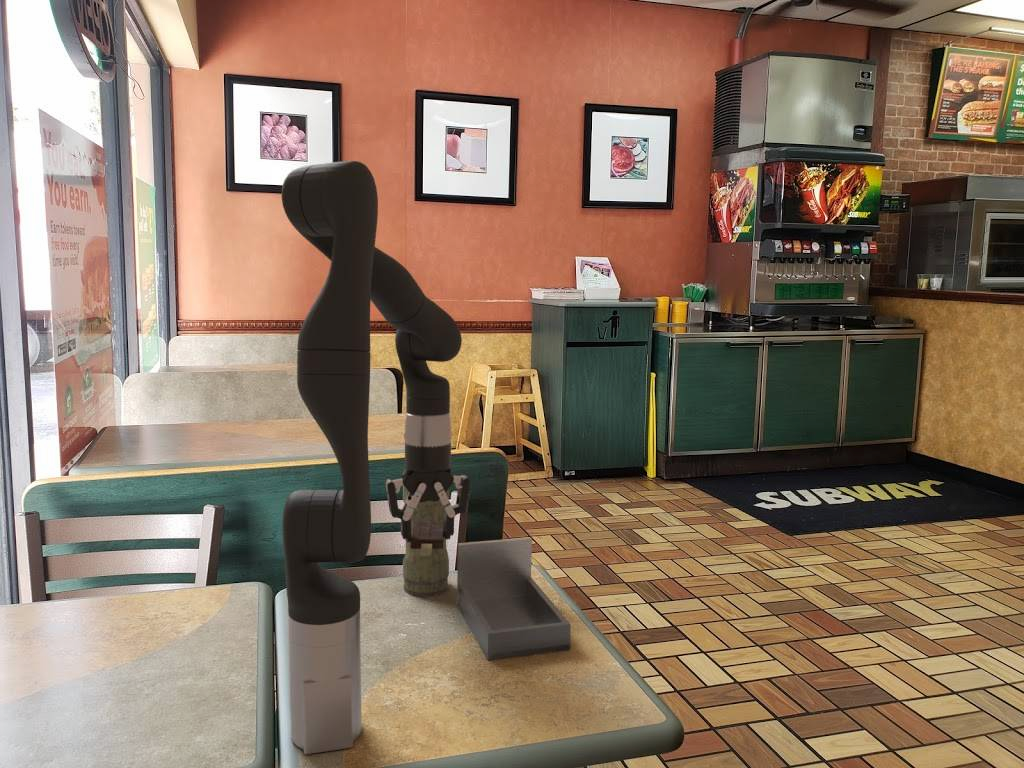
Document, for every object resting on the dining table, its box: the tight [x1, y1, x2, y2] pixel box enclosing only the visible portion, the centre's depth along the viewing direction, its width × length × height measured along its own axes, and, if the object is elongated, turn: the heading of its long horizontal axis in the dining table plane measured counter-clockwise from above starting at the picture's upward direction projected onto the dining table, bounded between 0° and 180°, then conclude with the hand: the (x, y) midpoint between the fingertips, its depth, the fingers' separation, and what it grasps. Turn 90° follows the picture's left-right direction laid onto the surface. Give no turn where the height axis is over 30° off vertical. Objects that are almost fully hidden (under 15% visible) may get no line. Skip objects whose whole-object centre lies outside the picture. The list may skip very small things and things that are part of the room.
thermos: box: [402, 469, 450, 597], centre depth 155 cm, size 9×12×35 cm
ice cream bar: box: [411, 521, 444, 556], centre depth 133 cm, size 5×2×15 cm
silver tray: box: [456, 536, 572, 661], centre depth 141 cm, size 24×14×12 cm, turn 17°
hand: (427, 539), depth 133 cm, fingers closed on ice cream bar, 6 cm apart
